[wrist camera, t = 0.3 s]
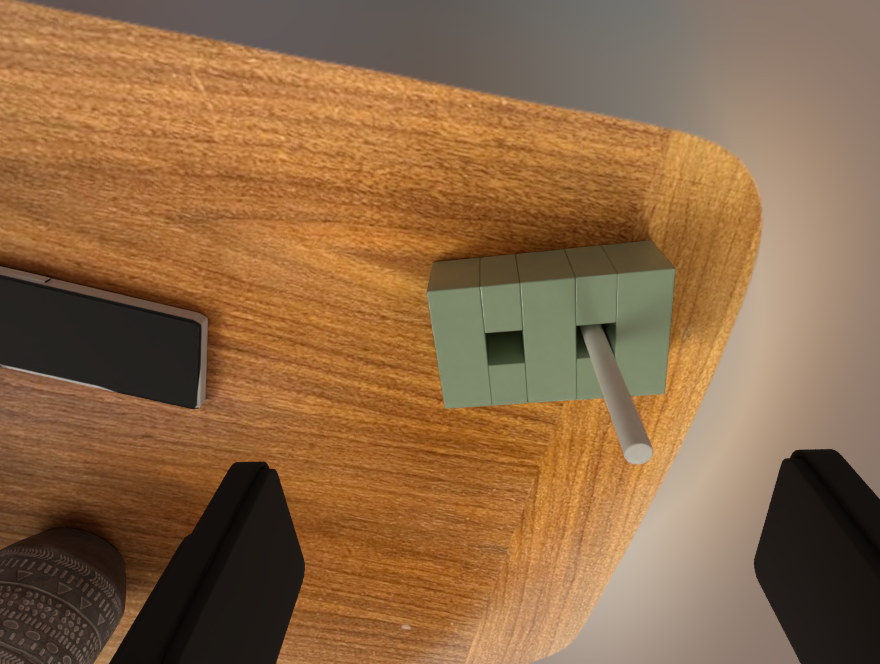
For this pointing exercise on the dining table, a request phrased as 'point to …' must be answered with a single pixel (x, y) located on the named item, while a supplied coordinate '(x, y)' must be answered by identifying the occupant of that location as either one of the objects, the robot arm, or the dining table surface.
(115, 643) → the dining table surface
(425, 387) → the dining table surface
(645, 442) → the grey cylindrical rod
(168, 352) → the smartphone
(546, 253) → the pen holder
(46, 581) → the planter
